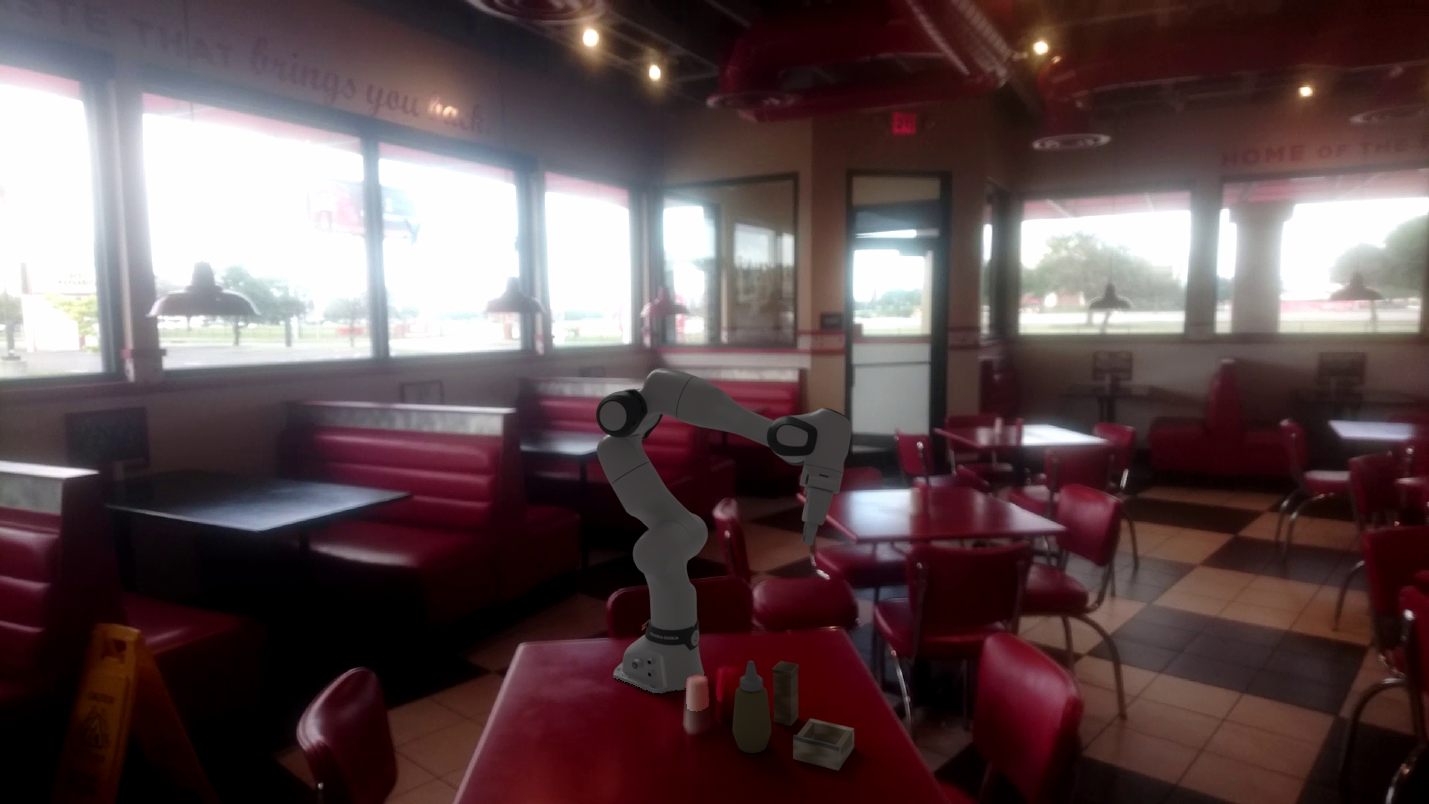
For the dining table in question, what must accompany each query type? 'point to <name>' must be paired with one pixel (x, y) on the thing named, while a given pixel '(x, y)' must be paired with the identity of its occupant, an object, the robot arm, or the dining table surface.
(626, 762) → the dining table surface
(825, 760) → the frame
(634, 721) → the dining table surface
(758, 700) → the squeeze bottle
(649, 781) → the dining table surface
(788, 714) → the brown capped wooden post
